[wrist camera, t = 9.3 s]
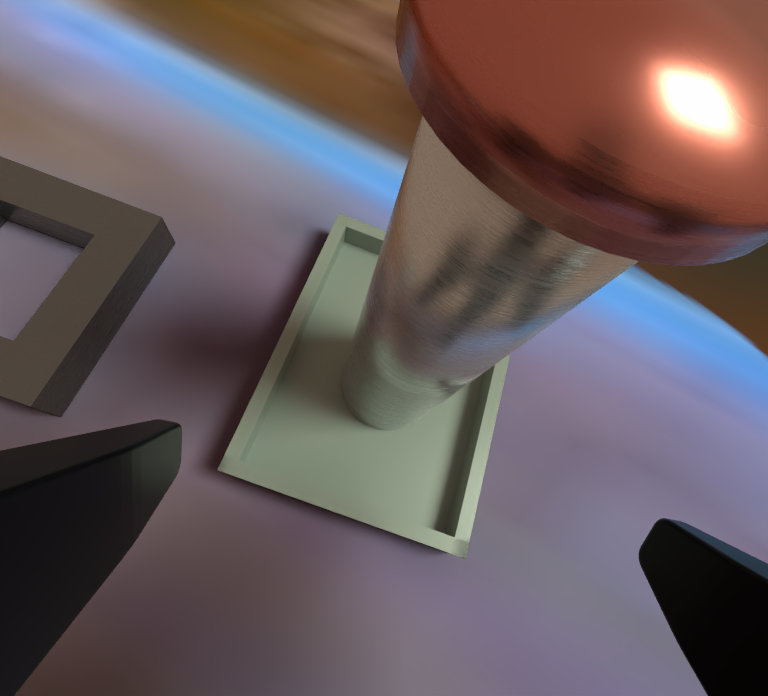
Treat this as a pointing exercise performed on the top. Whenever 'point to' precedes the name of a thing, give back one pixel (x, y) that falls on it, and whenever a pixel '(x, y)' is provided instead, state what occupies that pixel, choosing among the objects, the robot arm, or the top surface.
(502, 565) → the top surface
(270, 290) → the top surface
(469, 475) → the tray
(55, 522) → the robot arm
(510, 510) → the top surface
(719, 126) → the pin
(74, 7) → the top surface
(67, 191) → the receiver socket
